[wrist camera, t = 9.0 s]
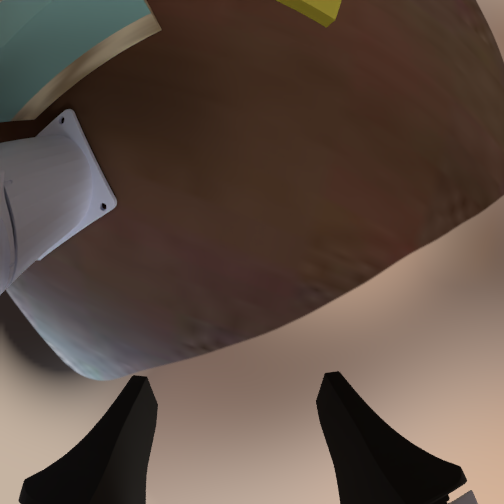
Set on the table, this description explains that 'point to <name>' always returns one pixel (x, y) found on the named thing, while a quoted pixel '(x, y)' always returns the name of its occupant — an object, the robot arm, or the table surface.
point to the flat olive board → (316, 9)
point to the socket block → (89, 64)
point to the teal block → (52, 41)
